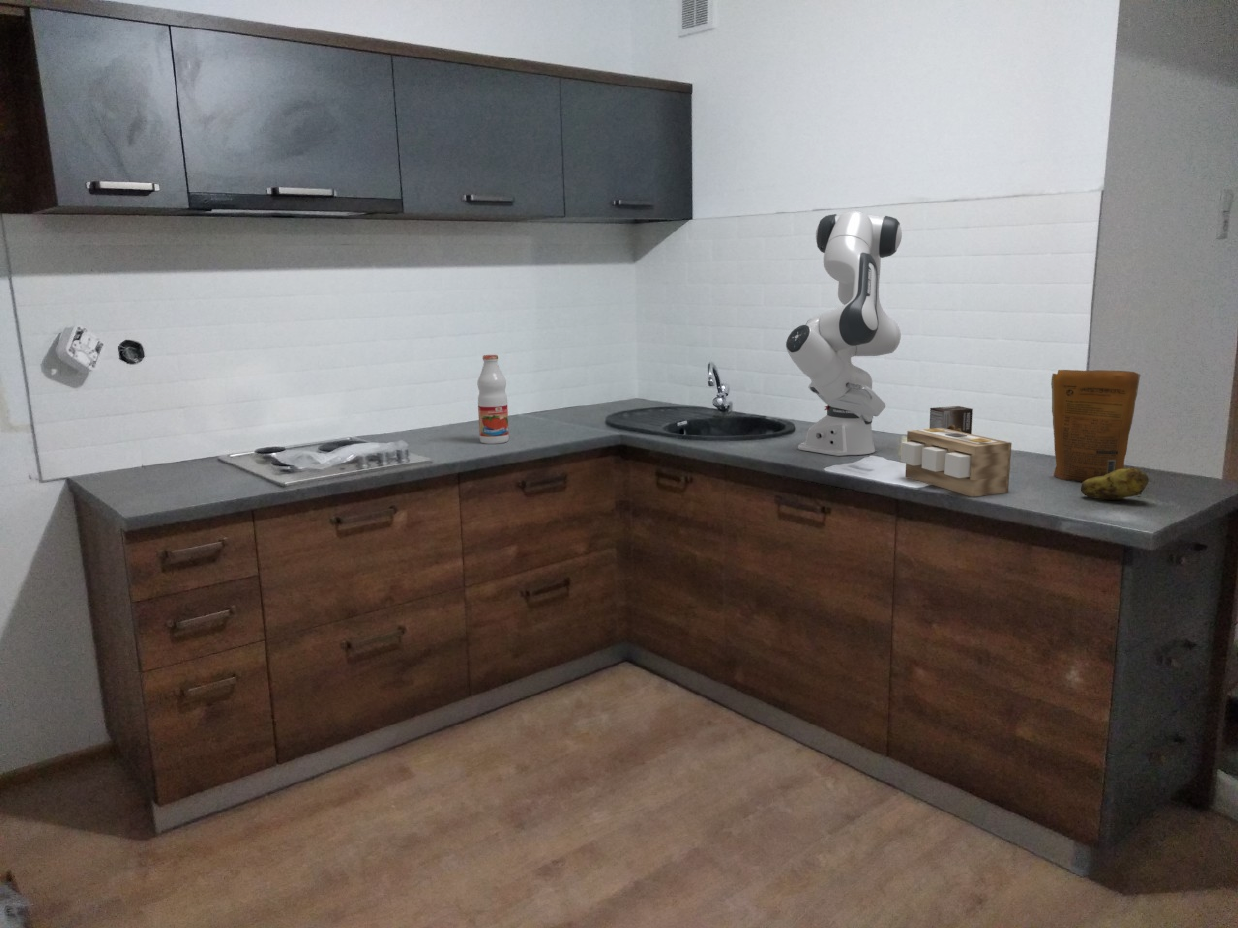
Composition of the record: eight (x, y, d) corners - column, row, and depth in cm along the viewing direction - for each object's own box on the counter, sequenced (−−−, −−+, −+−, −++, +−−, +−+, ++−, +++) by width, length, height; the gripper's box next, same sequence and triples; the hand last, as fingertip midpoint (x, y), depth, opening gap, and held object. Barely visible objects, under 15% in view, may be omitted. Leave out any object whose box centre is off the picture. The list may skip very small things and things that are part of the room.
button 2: (959, 478, 214) (960, 457, 213) (944, 474, 218) (945, 453, 217) (989, 474, 217) (990, 453, 216) (973, 470, 221) (975, 450, 220)
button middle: (935, 471, 221) (936, 451, 220) (921, 467, 225) (922, 447, 224) (964, 468, 224) (966, 448, 223) (950, 464, 229) (951, 444, 228)
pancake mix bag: (1125, 489, 219) (1137, 372, 213) (1042, 478, 231) (1051, 368, 225) (1133, 484, 223) (1144, 370, 218) (1051, 474, 236) (1060, 366, 230)
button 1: (913, 465, 228) (914, 445, 227) (900, 461, 233) (901, 442, 232) (942, 462, 231) (943, 442, 230) (928, 458, 236) (929, 439, 235)
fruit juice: (503, 438, 303) (499, 353, 297) (513, 442, 295) (509, 355, 289) (476, 440, 299) (471, 355, 293) (485, 445, 290) (480, 357, 285)
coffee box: (955, 463, 251) (959, 405, 248) (970, 467, 245) (974, 408, 242) (926, 465, 249) (929, 407, 246) (940, 470, 243) (944, 410, 240)
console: (972, 496, 214) (975, 444, 212) (905, 476, 236) (907, 429, 234) (1008, 492, 218) (1011, 440, 216) (938, 472, 240) (941, 425, 237)
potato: (1093, 492, 216) (1096, 459, 215) (1151, 502, 206) (1154, 468, 205) (1076, 498, 211) (1079, 464, 210) (1134, 508, 201) (1137, 473, 200)
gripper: (871, 376, 209) (903, 415, 214) (819, 368, 227) (851, 404, 233) (854, 396, 208) (887, 435, 214) (804, 387, 227) (836, 422, 232)
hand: (868, 419), depth 223 cm, fingers closed
